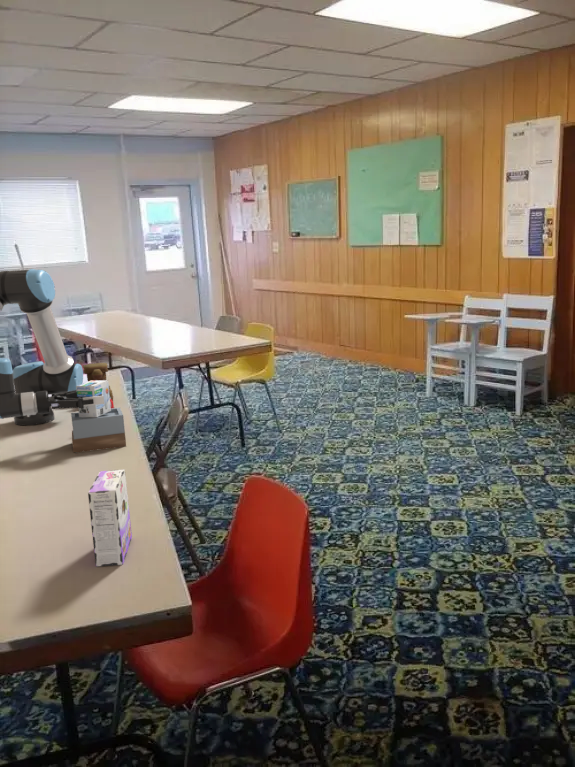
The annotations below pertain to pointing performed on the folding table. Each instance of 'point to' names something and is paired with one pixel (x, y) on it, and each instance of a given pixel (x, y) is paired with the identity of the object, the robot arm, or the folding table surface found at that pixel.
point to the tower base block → (98, 442)
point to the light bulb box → (92, 390)
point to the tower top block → (98, 424)
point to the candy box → (110, 517)
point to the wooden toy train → (97, 373)
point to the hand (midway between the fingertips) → (102, 395)
